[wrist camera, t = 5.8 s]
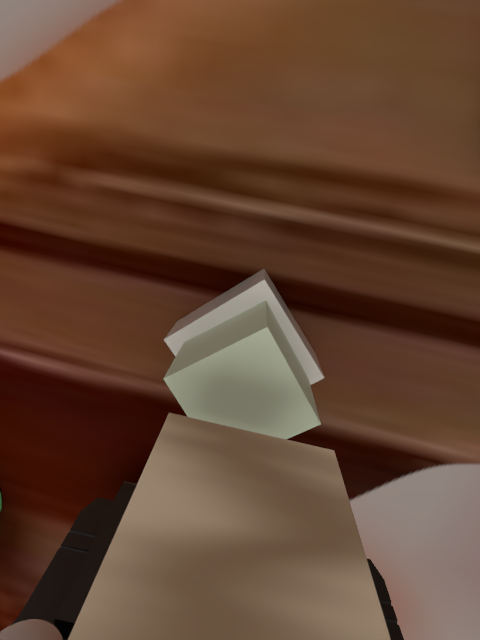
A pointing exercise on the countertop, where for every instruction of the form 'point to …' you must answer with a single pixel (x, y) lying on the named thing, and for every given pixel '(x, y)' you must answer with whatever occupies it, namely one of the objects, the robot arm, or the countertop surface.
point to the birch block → (234, 546)
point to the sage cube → (244, 377)
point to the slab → (238, 302)
